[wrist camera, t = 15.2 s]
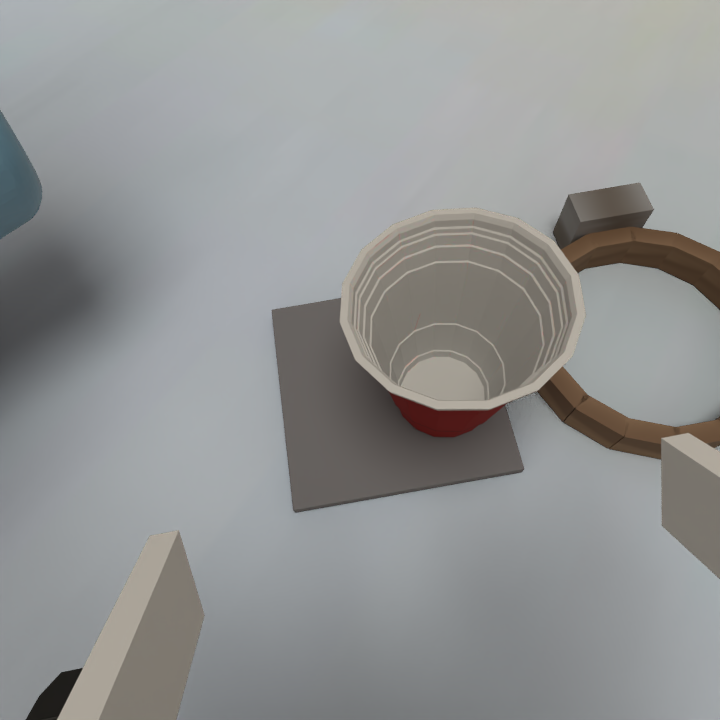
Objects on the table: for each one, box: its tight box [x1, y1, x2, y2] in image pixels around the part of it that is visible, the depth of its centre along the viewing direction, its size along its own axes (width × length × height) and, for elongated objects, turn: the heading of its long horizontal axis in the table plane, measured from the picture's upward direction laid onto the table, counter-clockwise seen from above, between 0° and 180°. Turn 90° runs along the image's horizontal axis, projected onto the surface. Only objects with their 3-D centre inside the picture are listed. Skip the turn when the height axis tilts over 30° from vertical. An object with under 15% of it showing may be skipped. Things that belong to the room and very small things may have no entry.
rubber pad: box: [272, 298, 524, 512], centre depth 35 cm, size 14×14×1 cm
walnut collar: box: [537, 183, 720, 459], centre depth 35 cm, size 15×18×4 cm
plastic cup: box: [340, 208, 586, 437], centre depth 29 cm, size 11×11×12 cm
